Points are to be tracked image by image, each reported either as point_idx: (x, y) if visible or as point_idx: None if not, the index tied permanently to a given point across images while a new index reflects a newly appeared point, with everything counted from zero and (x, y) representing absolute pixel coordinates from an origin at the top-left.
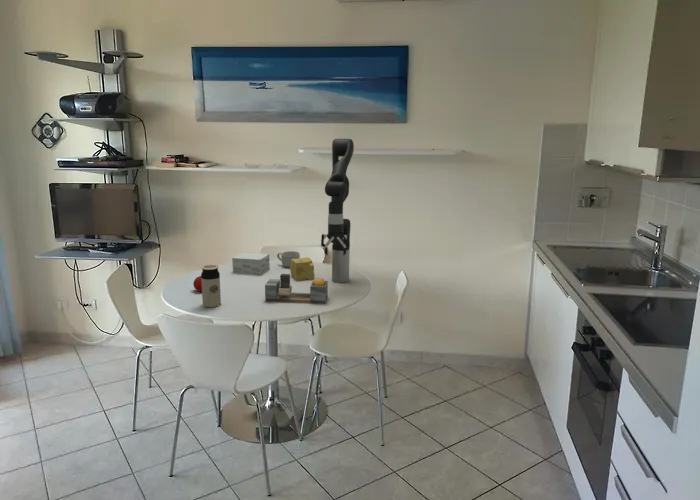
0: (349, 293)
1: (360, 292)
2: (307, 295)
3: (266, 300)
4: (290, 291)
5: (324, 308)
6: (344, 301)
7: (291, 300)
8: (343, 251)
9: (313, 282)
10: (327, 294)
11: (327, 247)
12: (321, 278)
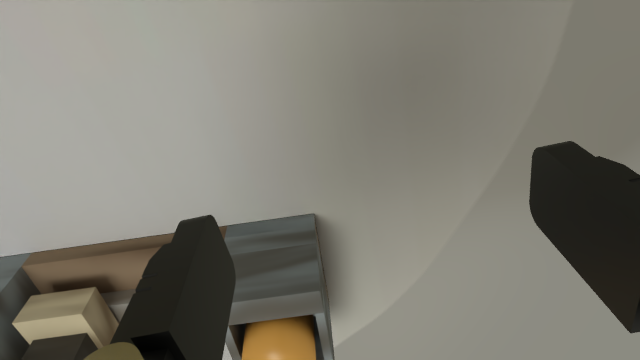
0: (444, 121)
1: (523, 80)
2: None
3: None
4: (113, 324)
5: (338, 339)
6: (420, 251)
7: None
8: (577, 269)
9: (231, 331)
10: (315, 227)
11: (180, 354)
12: (287, 353)
